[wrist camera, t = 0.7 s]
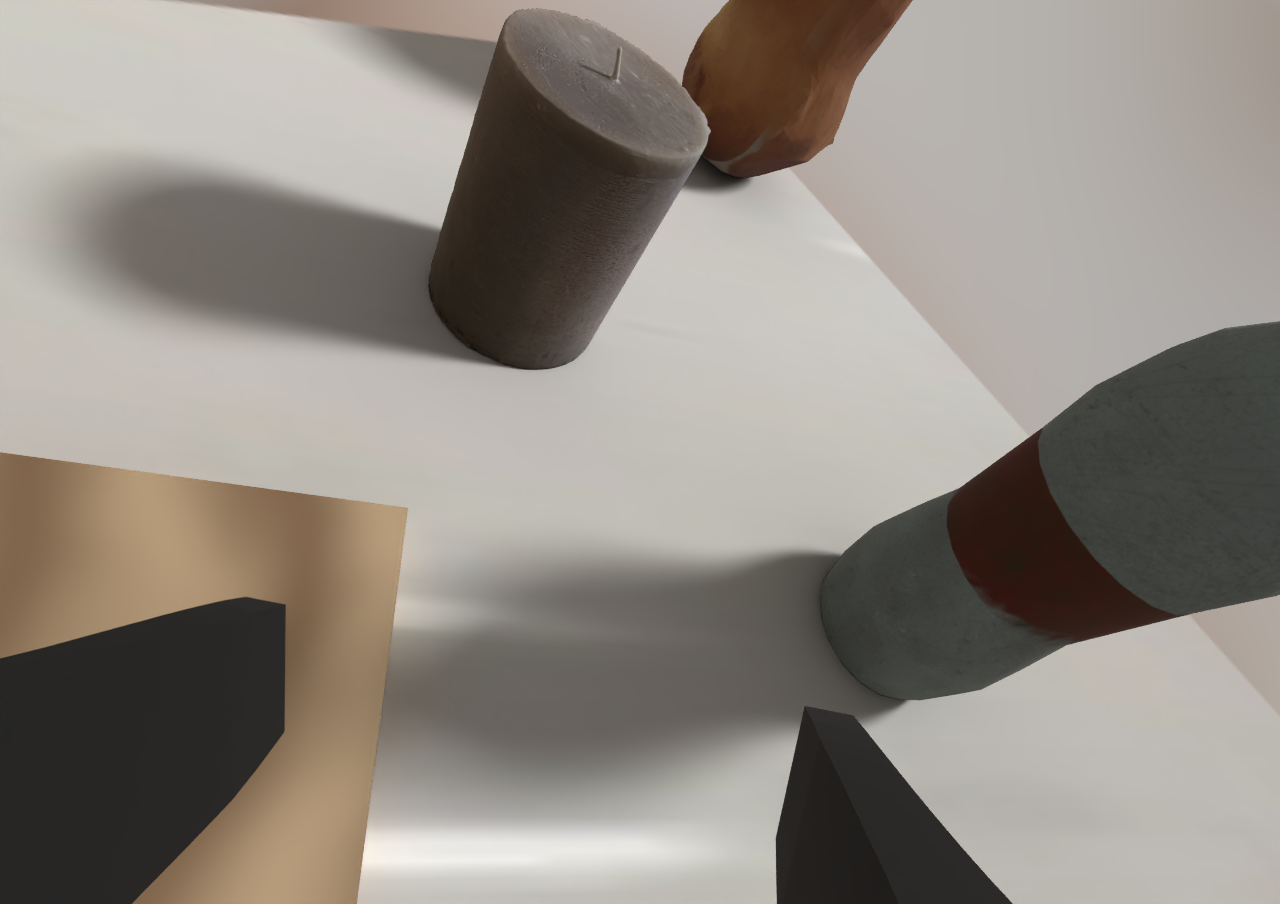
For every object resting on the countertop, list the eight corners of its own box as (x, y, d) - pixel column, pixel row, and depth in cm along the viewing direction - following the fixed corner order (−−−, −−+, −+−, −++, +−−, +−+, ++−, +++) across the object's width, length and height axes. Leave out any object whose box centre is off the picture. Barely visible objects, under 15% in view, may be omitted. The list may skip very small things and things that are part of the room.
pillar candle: (440, 364, 33) (538, 88, 22) (417, 228, 37) (490, -59, 26) (610, 376, 38) (759, 156, 27) (572, 255, 42) (688, 23, 31)
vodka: (926, 751, 33) (2246, 421, 11) (787, 634, 33) (1824, 80, 11) (954, 616, 40) (1830, 237, 18) (837, 519, 40) (1563, 20, 18)
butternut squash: (702, 101, 63) (884, -232, 45) (805, 192, 62) (1033, -110, 44) (623, 126, 54) (813, -283, 36) (743, 234, 53) (1000, -128, 35)
